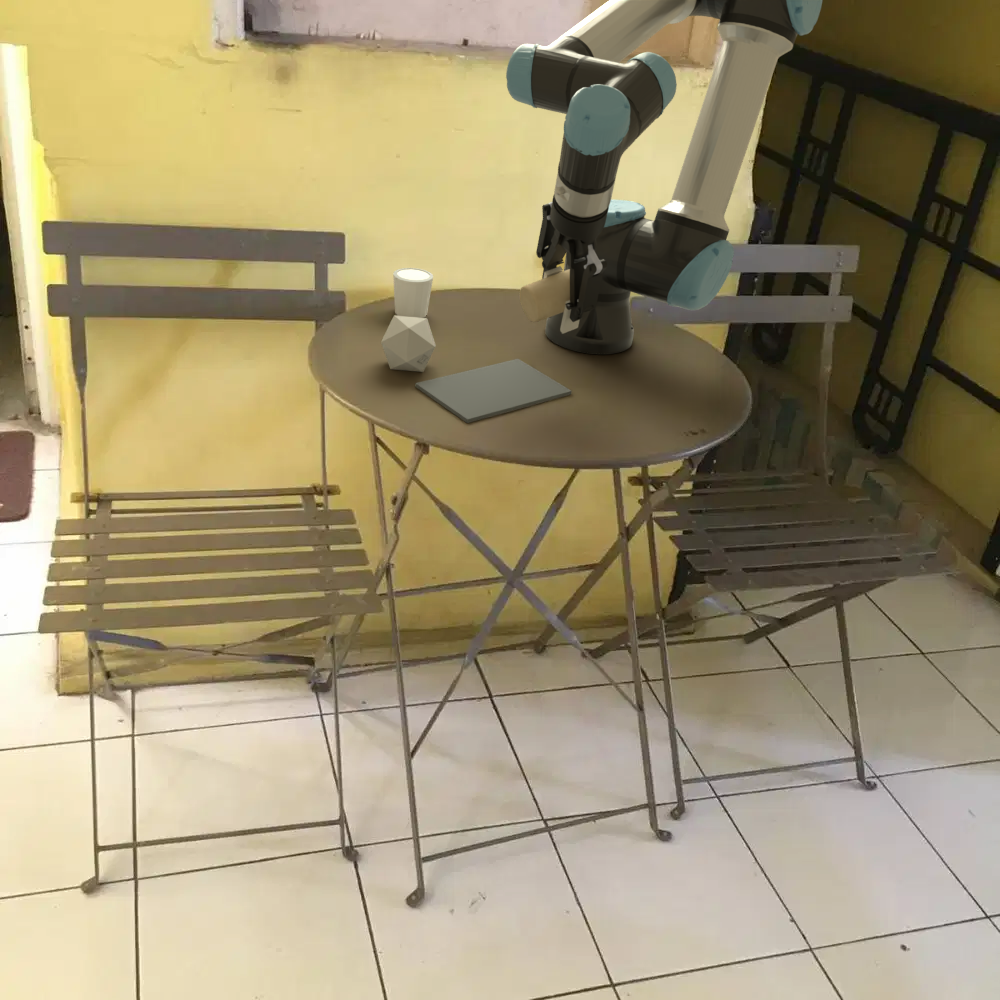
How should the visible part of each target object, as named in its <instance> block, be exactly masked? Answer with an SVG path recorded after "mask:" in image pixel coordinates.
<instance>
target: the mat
mask: <svg viewBox="0 0 1000 1000" xmlns="http://www.w3.org/2000/svg"><path fill="white" fill-rule="evenodd" d="M415 388H417V389H418V390H419V391H421V392H422V393H423V394H425V395H426V396H427V397H428V398H431V399H432V400H433V401H435V402H436V403H438V404H439V405H441V406H442V407H443V408H445V409H446V410H448V411H449V412H451V413H452V414H454V416H456V417H458V418H459V419H461V420H463V421H464V422H465V423H467V424H469V423H473V422H475V421H480V420H485V419H487V418H490V417H496V416H498V415H501V414H502V415H503V414H505V413H509V412H512V411H516V410H519V409H523V408H527V407H531V406H534V405H538V404H542V403H544V402H548V401H553V400H556V399H559V398H563V397H566V396H570V395H572V392H573V390H571V389H569V388H568V387H566V386H565V385H563V384H561V383H560V382H558V381H556V380H555V379H553V378H551V377H550V376H548V375H546V374H545V373H543V372H541V371H540V370H538V369H536V368H535V367H533V366H531V365H529V364H528V363H526V362H524V361H523V360H521V359H520V358H515V359H511V360H507V361H502V362H499V363H494V364H490V365H486V366H481V367H477V368H473V369H469V370H464V371H461V372H457V373H452V374H448V375H447V374H446V375H444V376H439V377H435V378H431V379H428V380H423V381H419V382H418V381H417V382H416V383H415Z"/></svg>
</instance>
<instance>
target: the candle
mask: <svg viewBox="0 0 1000 1000" xmlns="http://www.w3.org/2000/svg"><path fill="white" fill-rule="evenodd" d="M568 300H570V269H569V270H566V271H564V270H563V271H562V272H560V273H558V274H555V275H552V276H550V277H547V278H544V279H542V278H541V279H539V280H537V281H534V282H531V283H528V284H526V285H523V286H522V287H520V289H519V302H520V304H521V305H520V306H521V309H522V311H523V313H524V314H525V317H526V318H527V320H529V321H530V322H532V323H537V322H541V321H544V320H547V318H549V317H552V316H554V315H557V314H559V313H562V312H564V309H565V303H566V301H568Z"/></svg>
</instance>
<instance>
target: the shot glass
mask: <svg viewBox="0 0 1000 1000" xmlns="http://www.w3.org/2000/svg"><path fill="white" fill-rule="evenodd" d="M392 275H393V278H392V279H393V297H394V313H395V315H396V316H406V317H418V318H426V317H427V316H428V311H429V306H430V300H431V299H430V298H431V292H432V287H433V279H434V274H433V273H432V272H430V271H428V270H426V269H422V268H417V267H403V268H399V269H396V270H394V271H393V274H392ZM426 315H427V316H426Z"/></svg>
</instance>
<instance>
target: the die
mask: <svg viewBox="0 0 1000 1000" xmlns="http://www.w3.org/2000/svg"><path fill="white" fill-rule="evenodd" d="M380 343H381V346H382V350H383V352H384V355H385V358H386V361H387V364H388V366H389V368H390V370H394V371H395V370H397V371H405V372H406V371H409V372H410V371H411V372H418V373H419V372H420V373H424V371H425V369H426V367H427V365H428V363H429V361H430V359H431V356H432V354H433V353H434V351H435V349H436V342H435V339H434V336H433V333H432V330H431V327H430V323H429V320H428V318H427V317H424V318H418V317H406V316H398V315H396V314H395V315H393V317H392V319H391V321H390V322H389V325H388V327H387V329H386V331H385V333H384V335H383V337H382V340H380Z"/></svg>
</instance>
